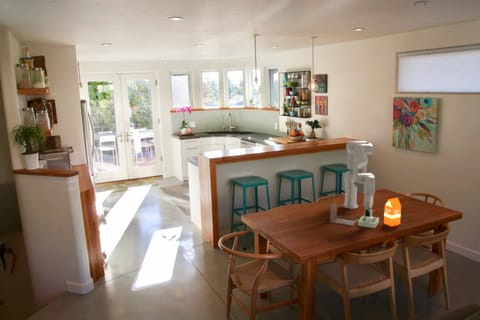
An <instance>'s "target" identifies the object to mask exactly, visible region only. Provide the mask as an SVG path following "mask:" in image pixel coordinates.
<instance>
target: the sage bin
mask: <svg viewBox="0 0 480 320" xmlns="http://www.w3.org/2000/svg"><path fill="white" fill-rule="evenodd" d="M372 217H373V223H368V222H366V217H365V216H364V215H362V216H361V217H360V219H358V221H357V226H359V227H364V228H369V229H375V228H376V227H377V225H378V224H379V223H380V217H376V216H375V217H374V216H372Z"/></svg>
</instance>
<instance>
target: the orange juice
mask: <svg viewBox="0 0 480 320" xmlns="http://www.w3.org/2000/svg"><path fill="white" fill-rule="evenodd" d="M401 213H402V204H401V203H400V200H399V198H398V197H394V198H389V199H388V200H387V202H386V203H385V204H384V213H383V224H385V225H387V226H390V227H394V226H399V224H400V225H401Z"/></svg>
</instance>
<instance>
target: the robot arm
mask: <svg viewBox="0 0 480 320" xmlns="http://www.w3.org/2000/svg"><path fill="white" fill-rule="evenodd" d="M345 147H346V148H345V149H346V151H347V159H346V162H347V163H346V165H347V166H346V167H347V169H348V171H345V173H344V183H345V185H344V186H345V188H344V192H345V193H344V203H343V204H342V207H343V208H345V209H349V210H350V209H351V210H352V209H358V208H359V204H357V196H358V195H357V194H358V187H357V185H356V183H357V184H363V195H364V197H363V204H362V205H363V208H364V213H365V217H370V212H369V210H370V209H371V210H373V209H372V208H373V205H374V196H375V192H376V191H375V189H376V187H375V186H376V177H375V175H374V174H373V173H372V172H367V169H368V168H367V167H368V163H369V157H368V155H373V153H374V145H373V144H372V143H371V142H370V141H368V140H350V141H347V142H346V144H345Z"/></svg>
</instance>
